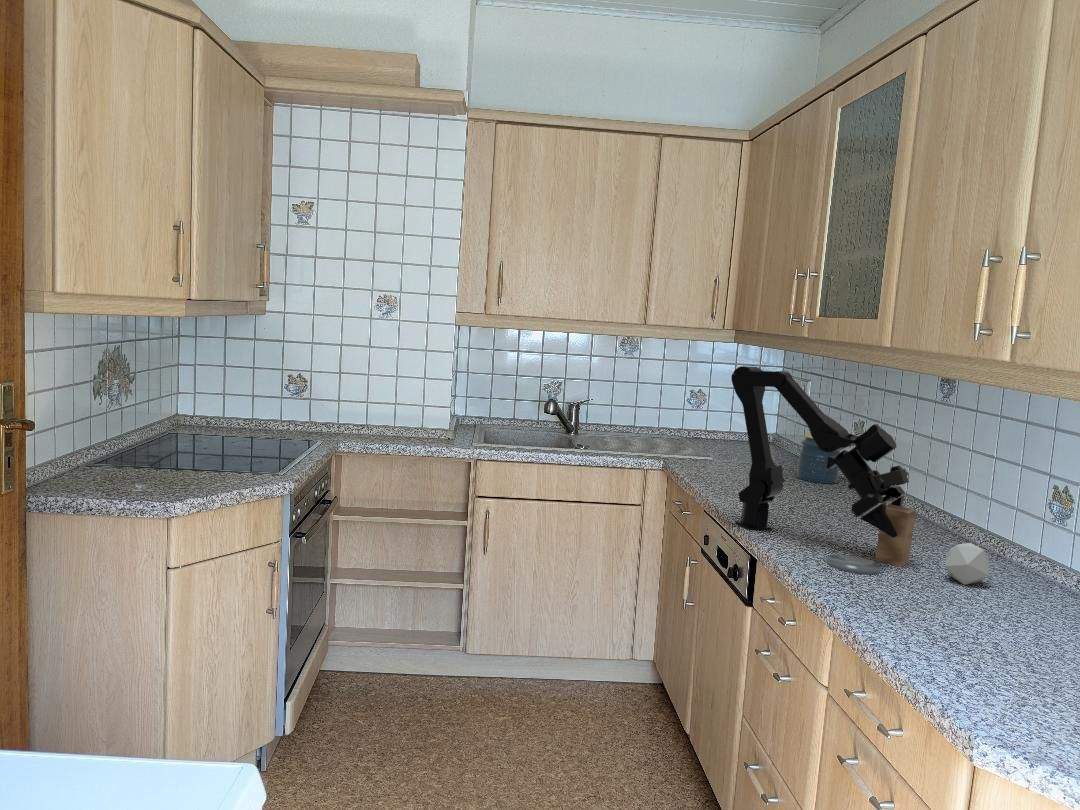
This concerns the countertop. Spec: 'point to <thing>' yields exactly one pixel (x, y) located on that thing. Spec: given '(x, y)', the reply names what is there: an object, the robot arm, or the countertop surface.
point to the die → (967, 563)
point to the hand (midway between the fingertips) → (902, 533)
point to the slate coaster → (853, 564)
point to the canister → (816, 463)
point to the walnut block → (899, 546)
